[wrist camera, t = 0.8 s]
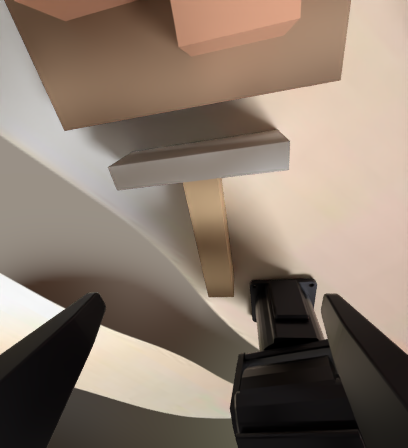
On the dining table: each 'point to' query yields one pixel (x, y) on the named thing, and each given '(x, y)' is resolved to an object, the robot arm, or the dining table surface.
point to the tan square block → (230, 22)
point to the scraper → (206, 188)
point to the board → (169, 60)
